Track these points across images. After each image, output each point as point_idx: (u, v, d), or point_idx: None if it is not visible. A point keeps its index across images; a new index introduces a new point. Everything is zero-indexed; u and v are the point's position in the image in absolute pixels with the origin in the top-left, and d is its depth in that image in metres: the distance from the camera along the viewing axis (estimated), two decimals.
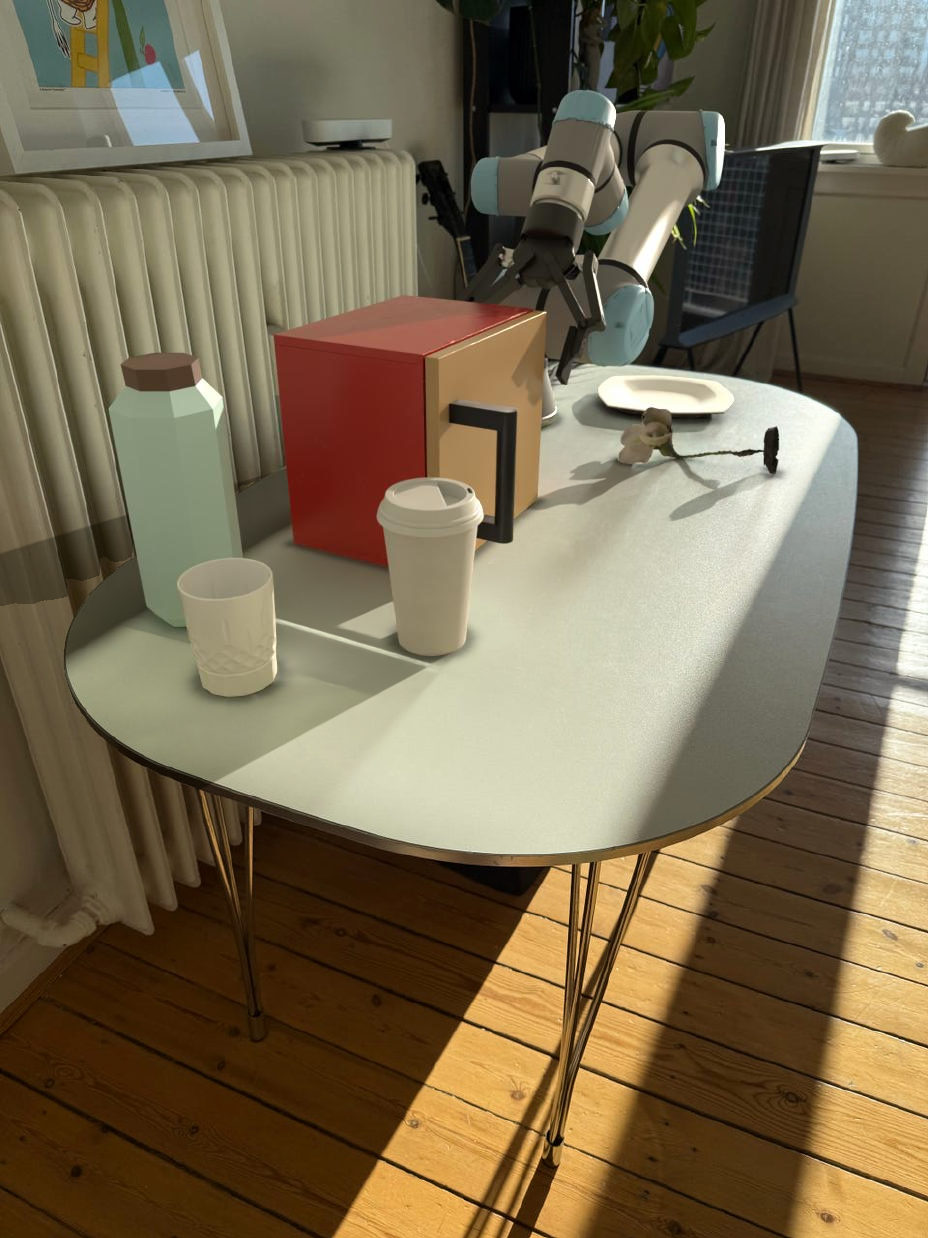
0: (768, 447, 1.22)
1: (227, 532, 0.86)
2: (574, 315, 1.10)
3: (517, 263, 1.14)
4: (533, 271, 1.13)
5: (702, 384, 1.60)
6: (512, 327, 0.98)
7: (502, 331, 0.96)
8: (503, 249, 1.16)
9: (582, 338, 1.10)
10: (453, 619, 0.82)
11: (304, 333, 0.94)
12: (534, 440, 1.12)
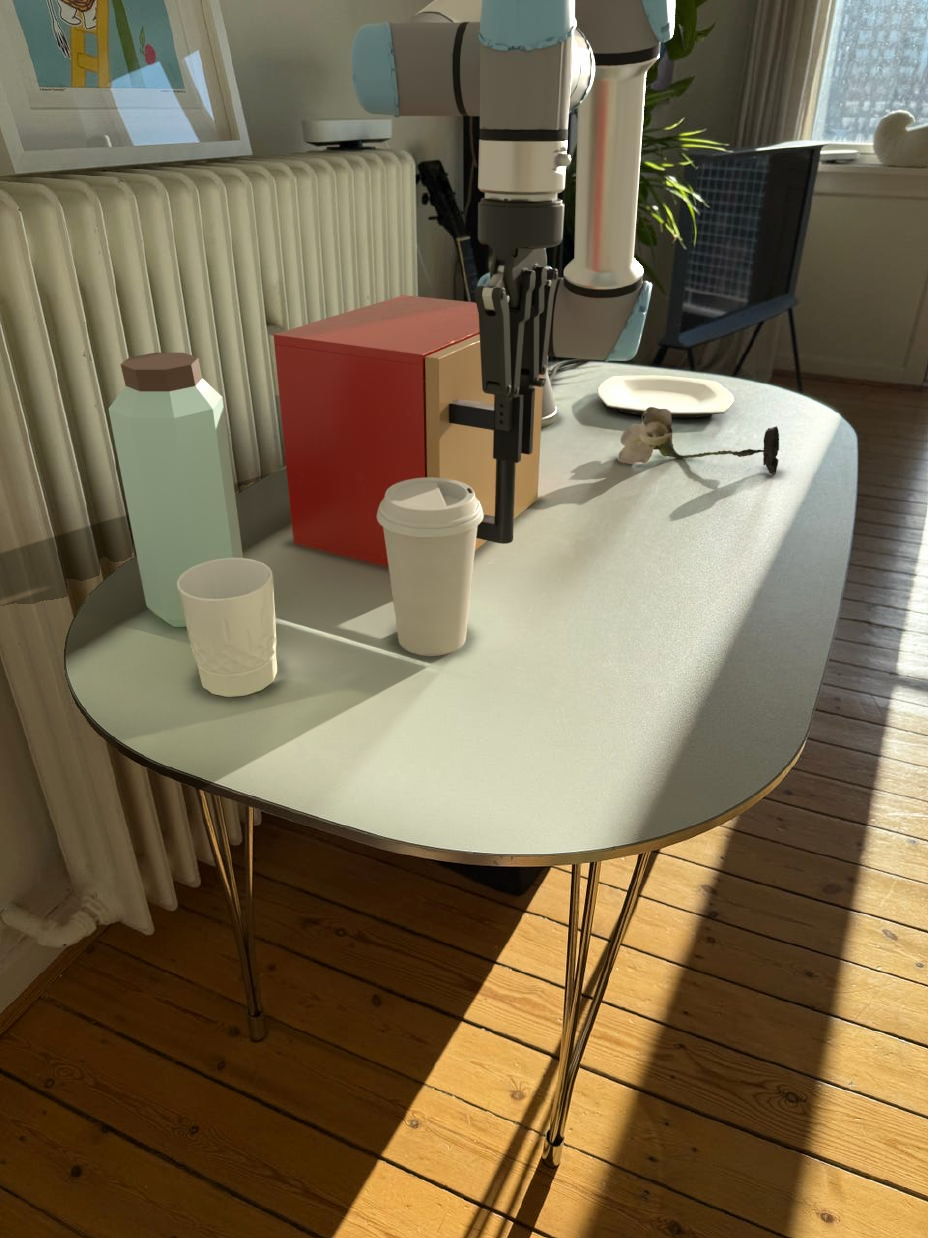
0: (768, 447, 1.22)
1: (227, 532, 0.86)
2: (534, 368, 0.86)
3: (527, 299, 0.80)
4: None
5: (702, 384, 1.60)
6: None
7: None
8: None
9: None
10: (453, 619, 0.82)
11: (304, 333, 0.94)
12: (534, 440, 1.12)
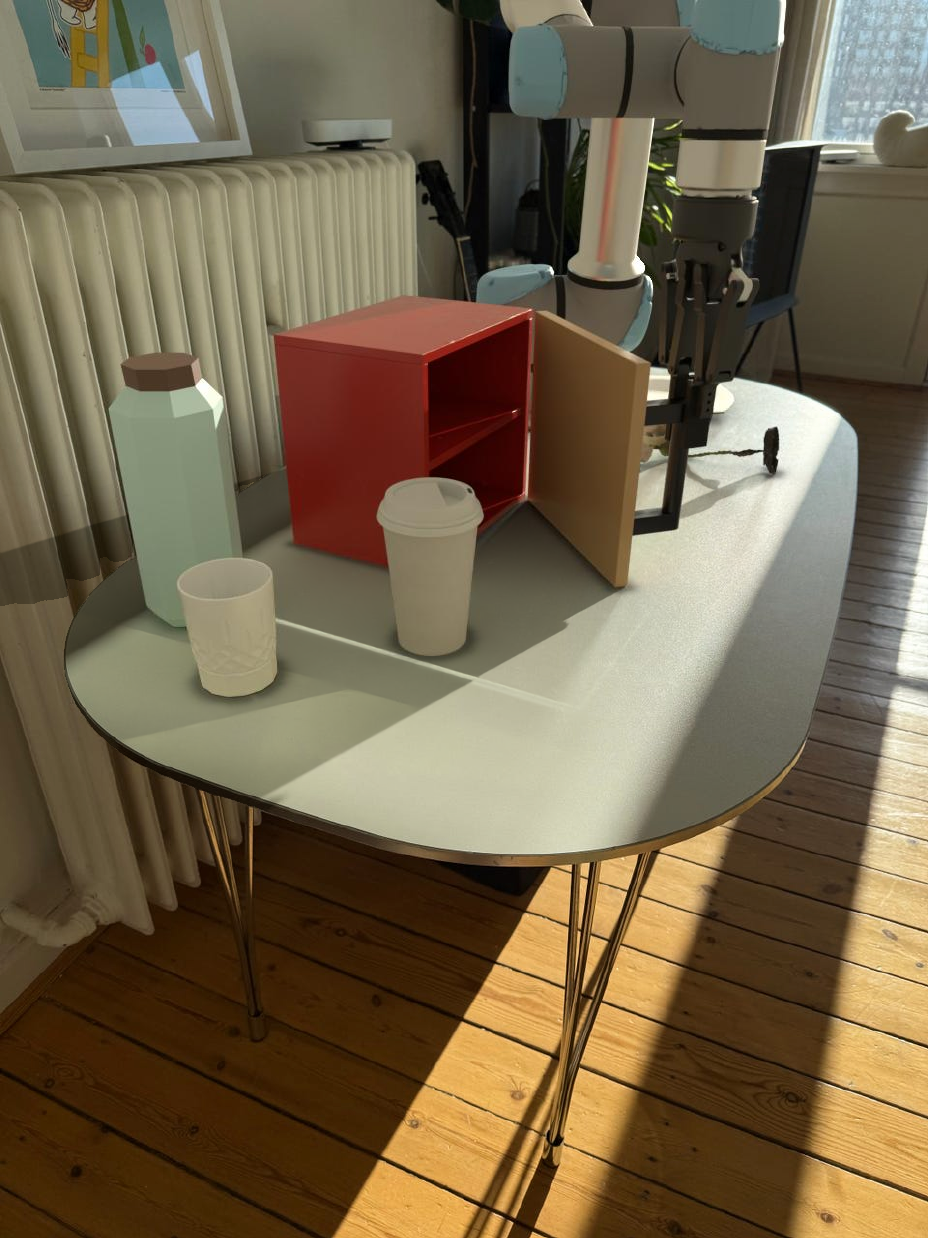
0: (768, 447, 1.22)
1: (227, 532, 0.86)
2: (695, 355, 0.91)
3: None
4: None
5: None
6: (579, 328, 0.98)
7: (588, 332, 0.96)
8: None
9: None
10: (453, 619, 0.82)
11: (304, 333, 0.94)
12: None
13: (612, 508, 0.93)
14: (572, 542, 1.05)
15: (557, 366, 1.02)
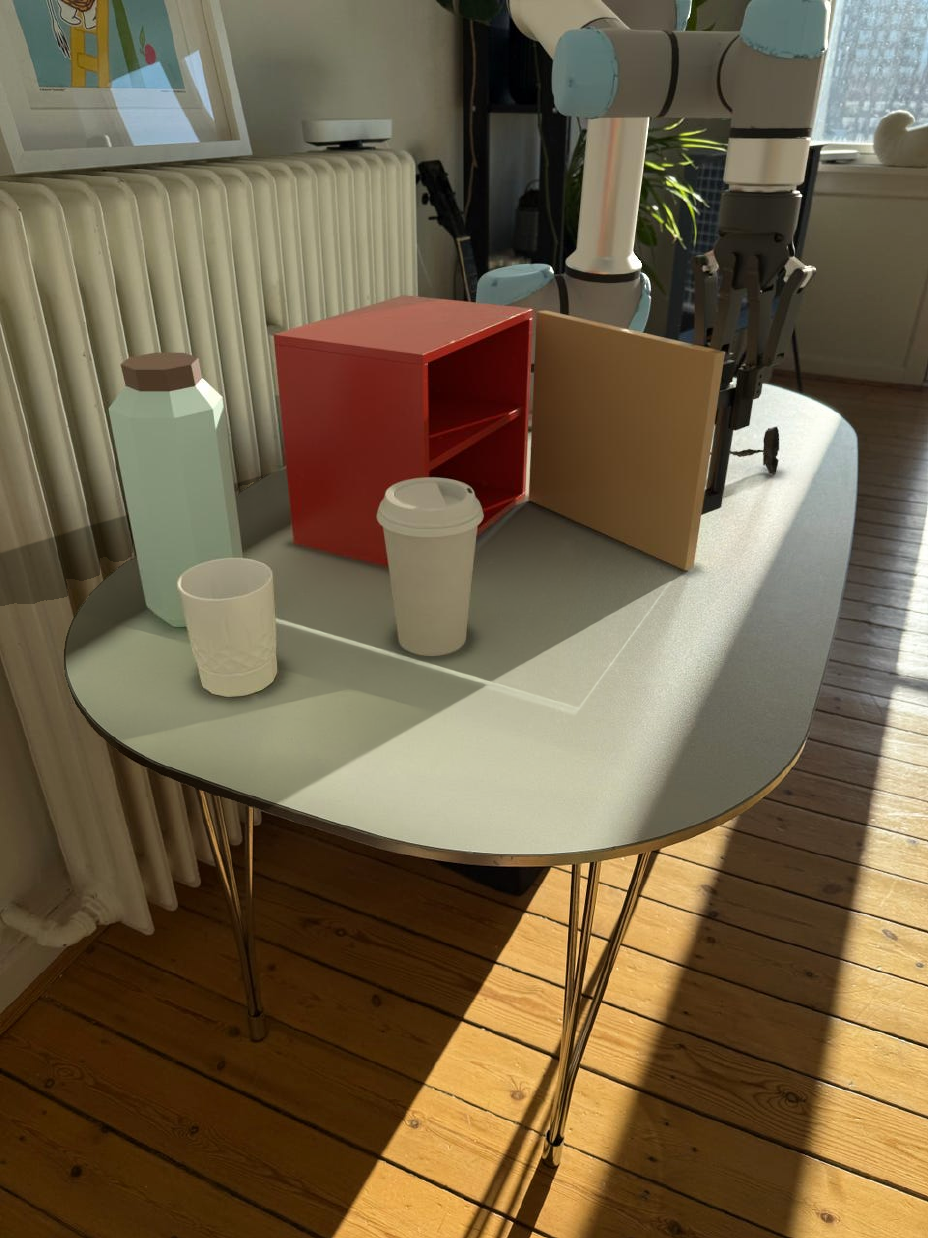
0: (768, 447, 1.22)
1: (227, 532, 0.86)
2: None
3: None
4: None
5: None
6: None
7: (619, 328, 0.98)
8: None
9: None
10: (453, 619, 0.82)
11: (304, 333, 0.94)
12: None
13: (679, 495, 0.97)
14: (610, 534, 1.07)
15: (578, 364, 1.03)
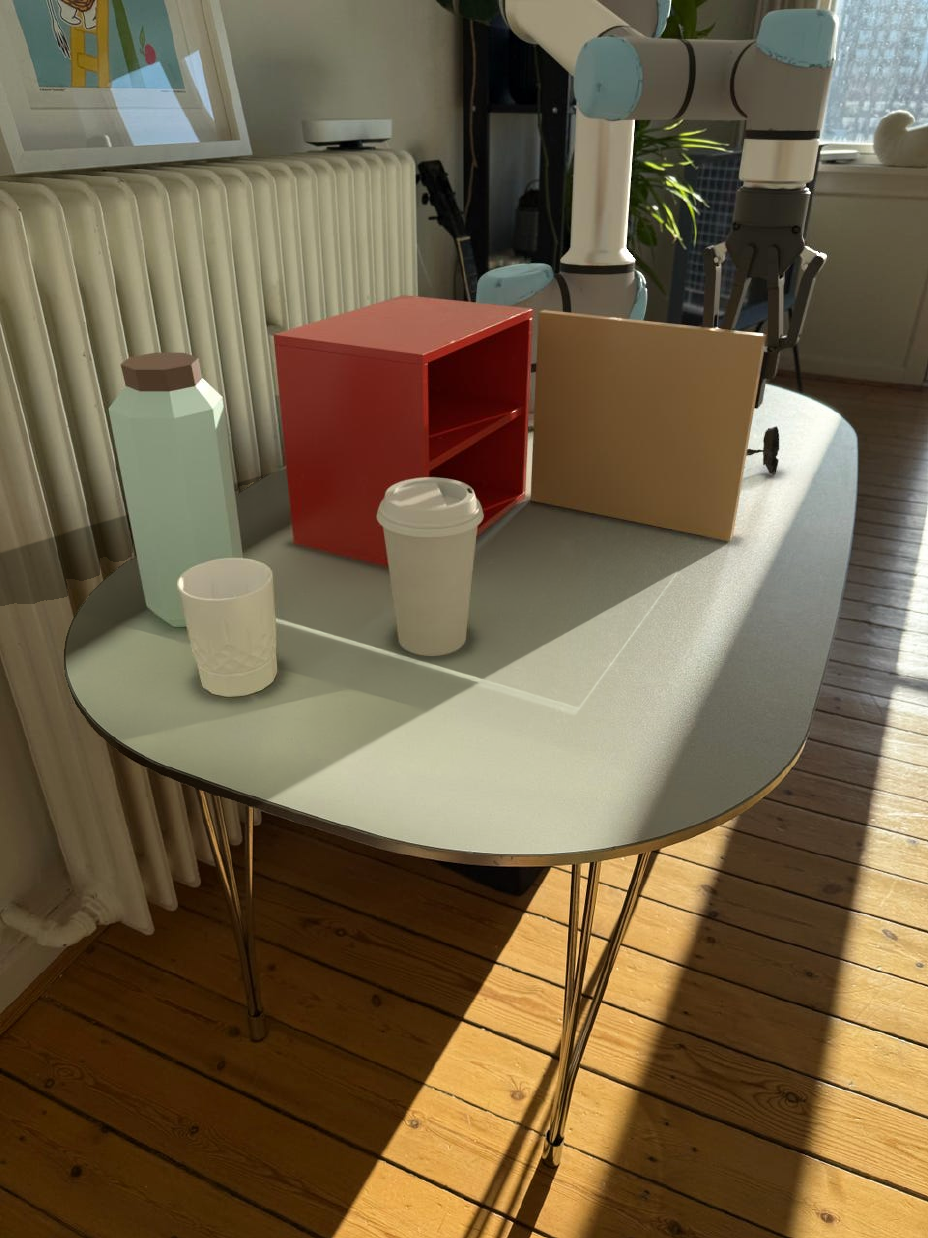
0: (767, 447, 1.22)
1: (227, 532, 0.86)
2: (733, 326, 1.05)
3: None
4: None
5: None
6: None
7: (640, 321, 1.01)
8: None
9: None
10: (453, 619, 0.82)
11: (304, 333, 0.94)
12: None
13: (722, 472, 1.03)
14: (638, 520, 1.11)
15: (595, 360, 1.05)
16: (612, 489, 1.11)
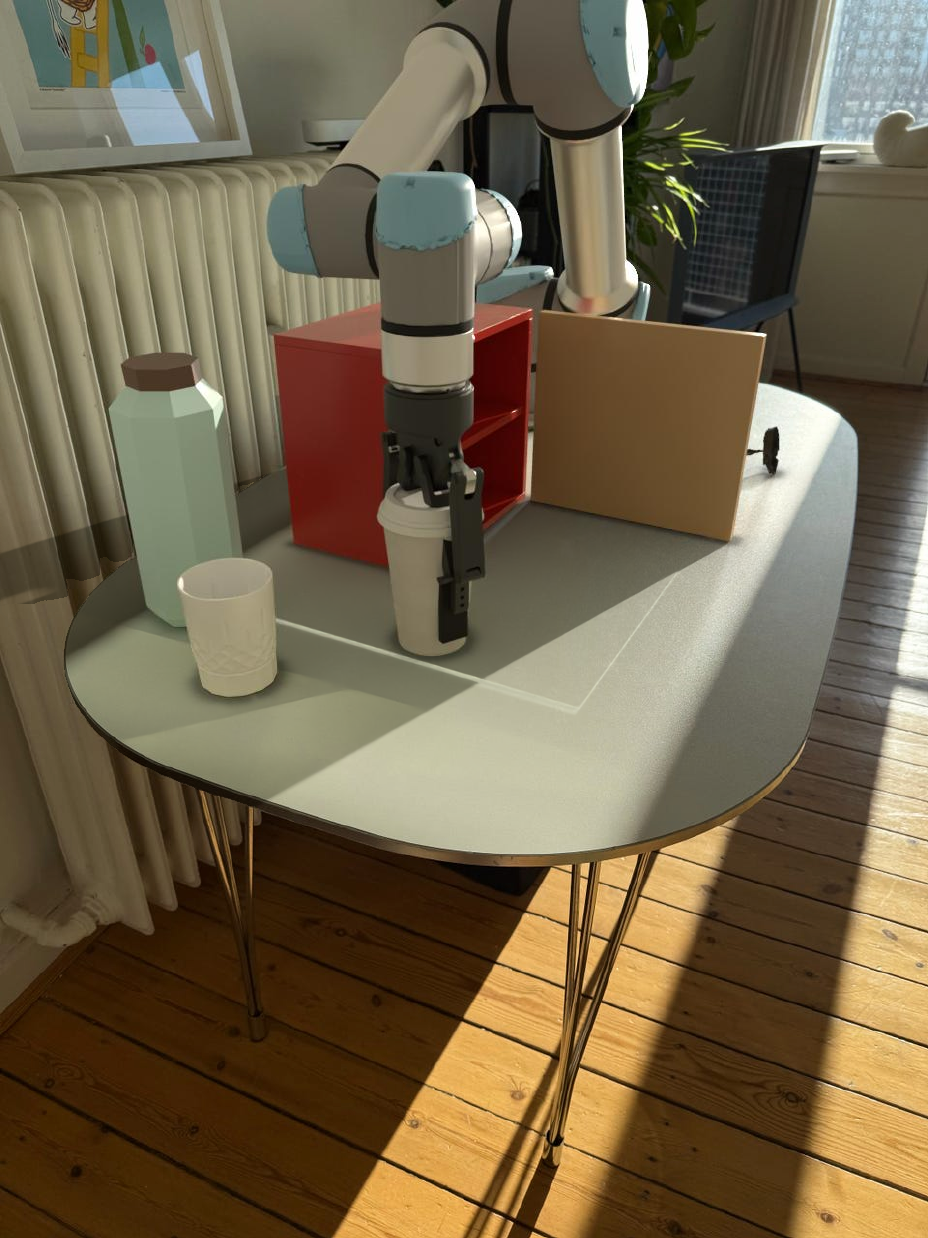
0: (767, 447, 1.22)
1: (227, 532, 0.86)
2: None
3: None
4: None
5: None
6: None
7: (640, 321, 1.01)
8: None
9: None
10: None
11: (304, 333, 0.94)
12: None
13: (722, 472, 1.03)
14: (638, 520, 1.11)
15: (595, 360, 1.05)
16: (612, 489, 1.11)
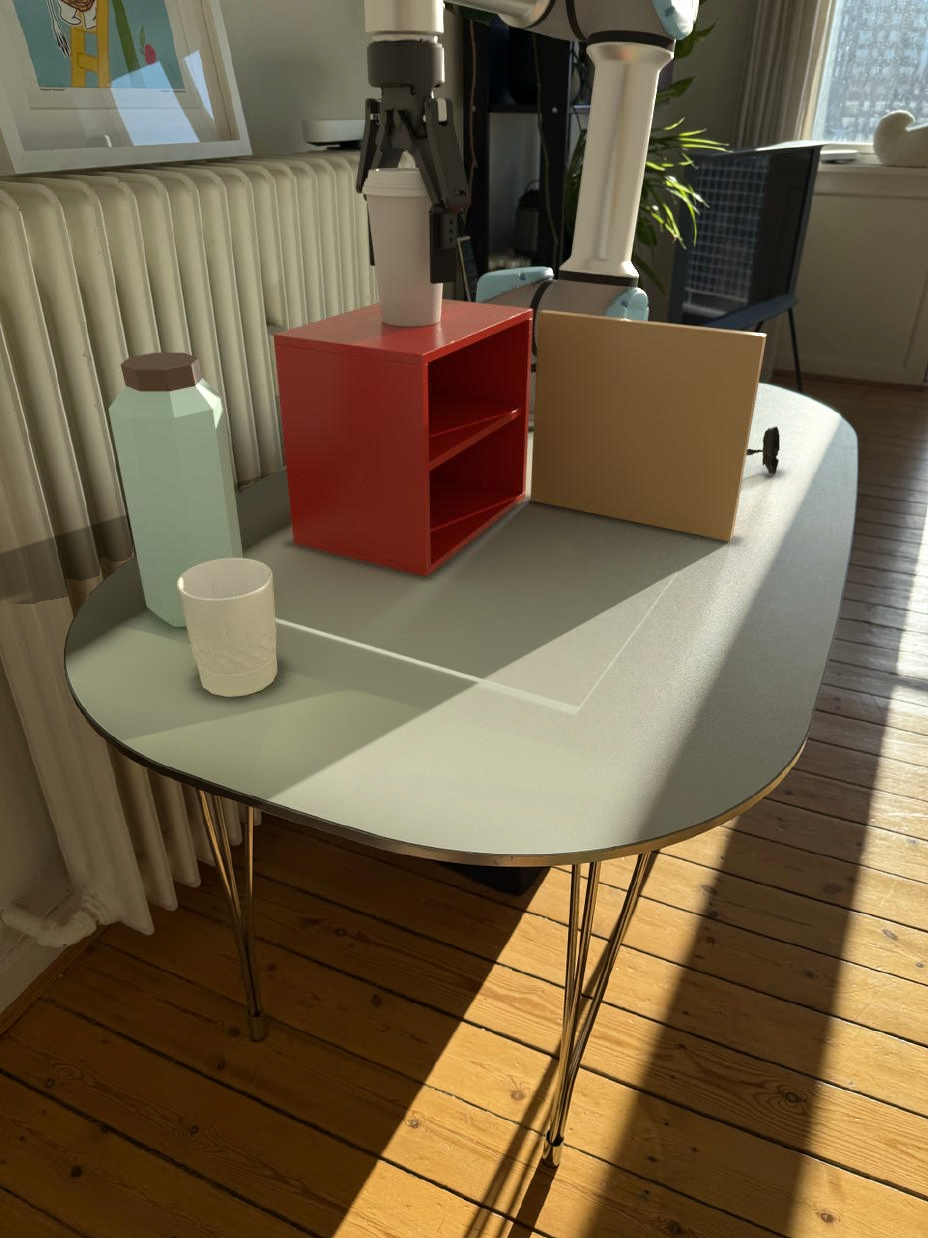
0: (767, 447, 1.22)
1: (227, 532, 0.86)
2: None
3: None
4: None
5: None
6: None
7: (640, 321, 1.01)
8: None
9: None
10: (428, 289, 0.95)
11: (304, 333, 0.94)
12: None
13: (722, 472, 1.03)
14: (638, 520, 1.11)
15: (595, 360, 1.05)
16: (612, 489, 1.11)
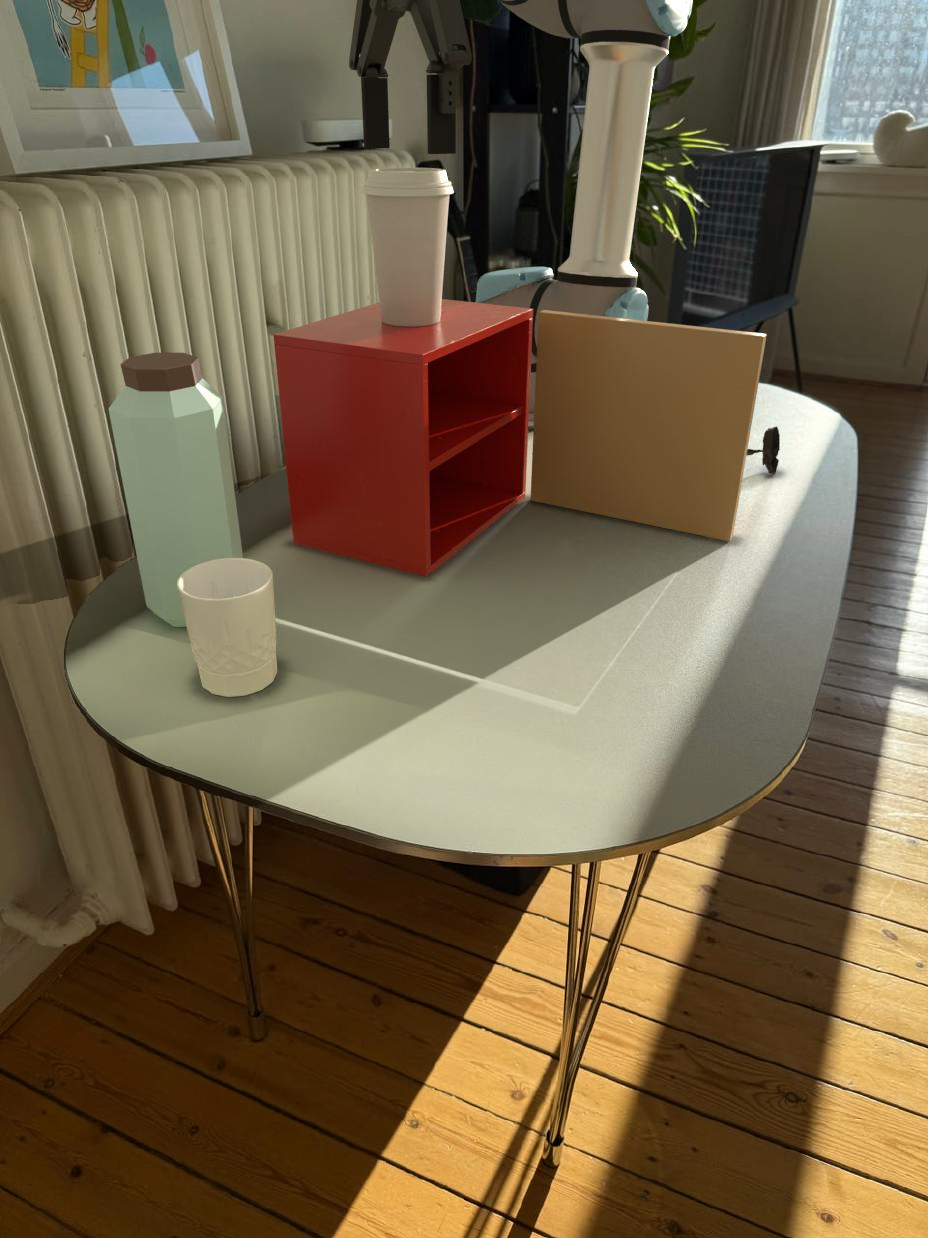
0: (767, 447, 1.22)
1: (227, 532, 0.86)
2: None
3: None
4: None
5: None
6: None
7: (640, 321, 1.01)
8: None
9: None
10: (428, 289, 0.95)
11: (304, 333, 0.94)
12: None
13: (722, 472, 1.03)
14: (638, 520, 1.11)
15: (595, 360, 1.05)
16: (612, 489, 1.11)
